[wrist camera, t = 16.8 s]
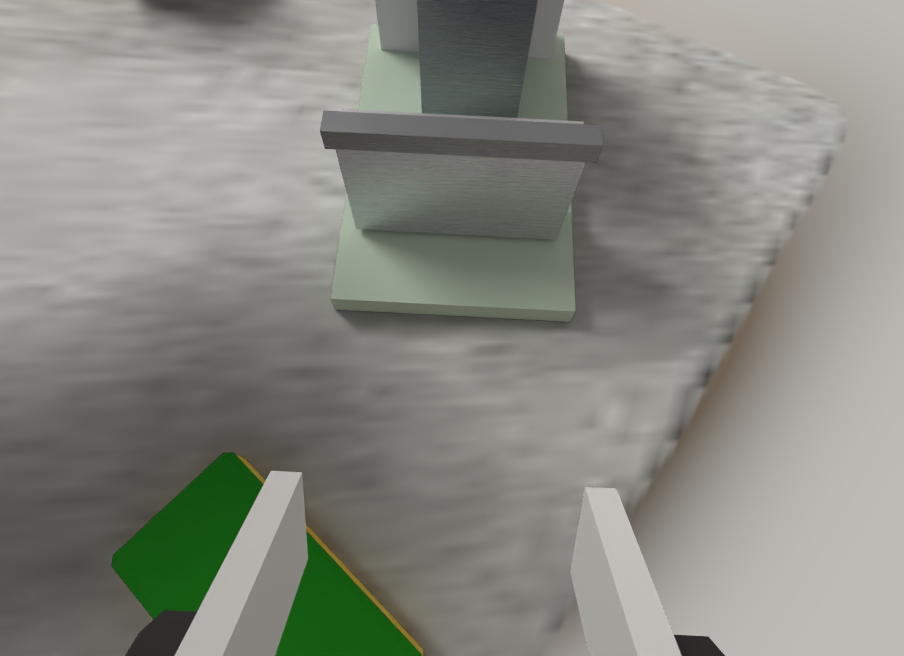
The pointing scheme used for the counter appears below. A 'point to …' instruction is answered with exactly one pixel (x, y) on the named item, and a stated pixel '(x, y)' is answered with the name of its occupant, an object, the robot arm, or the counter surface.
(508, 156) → the sliding jaw
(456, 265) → the vise bed
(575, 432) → the counter surface
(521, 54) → the steel block
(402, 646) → the dish sponge
